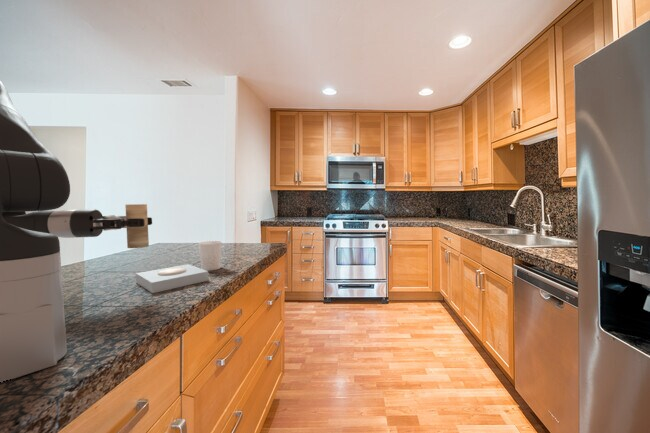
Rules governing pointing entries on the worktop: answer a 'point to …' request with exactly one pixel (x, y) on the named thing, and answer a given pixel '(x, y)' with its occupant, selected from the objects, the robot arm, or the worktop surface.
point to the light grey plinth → (171, 277)
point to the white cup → (210, 255)
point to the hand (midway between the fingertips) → (147, 221)
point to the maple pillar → (137, 235)
